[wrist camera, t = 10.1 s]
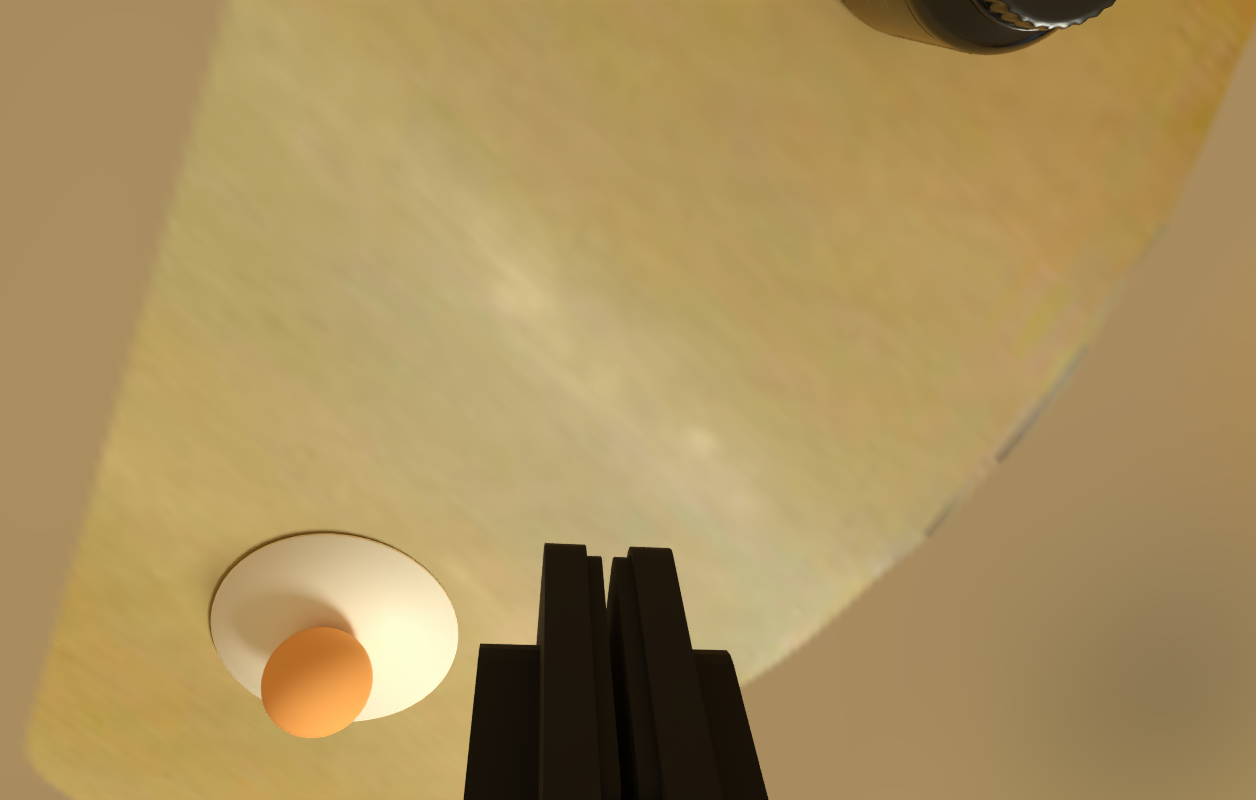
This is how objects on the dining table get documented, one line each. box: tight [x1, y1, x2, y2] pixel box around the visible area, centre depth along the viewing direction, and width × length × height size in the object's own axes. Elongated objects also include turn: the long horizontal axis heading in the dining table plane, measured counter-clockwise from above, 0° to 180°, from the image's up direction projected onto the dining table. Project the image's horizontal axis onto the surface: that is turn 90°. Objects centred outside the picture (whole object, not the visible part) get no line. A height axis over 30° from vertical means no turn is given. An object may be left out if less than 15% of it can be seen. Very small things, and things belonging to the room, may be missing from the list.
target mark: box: [211, 533, 458, 721], centre depth 48 cm, size 13×13×1 cm
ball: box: [261, 627, 373, 738], centre depth 46 cm, size 6×6×6 cm
